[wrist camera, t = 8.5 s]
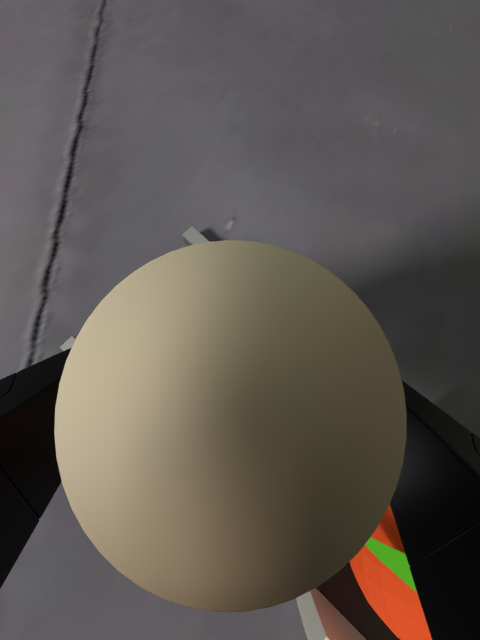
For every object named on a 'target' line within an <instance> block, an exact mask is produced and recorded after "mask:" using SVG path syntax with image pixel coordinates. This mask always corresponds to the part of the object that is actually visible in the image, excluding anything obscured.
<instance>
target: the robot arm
mask: <svg viewBox="0 0 480 640" xmlns="http://www.w3.org/2000/svg"><path fill="white" fill-rule="evenodd" d="M71 349H72V348H69V349H67V350H65V351H63V352H61V353H58V354H56V355H54V356H52V357H50V358H47V359H45V360H43V361H41V362H39V363H36V364H34V365H32V366H30V367H27V368H25V369H23V370H21V371H19V372H17V374H16V373H14V374H12V375H10V376H7V377H5V378H3V379H1V380H0V588H1V587H2V585H3V583H4V581H5V580H6V578H7V576H8V574H9V573H10V571H11V569H12V567H13V566H14V564H15V562H16V560H17V559H18V557H19V555H20V553H21V552H22V550H23V548H24V546H25V545H26V543H27V541H28V539H29V538H30V536H31V534H32V532H33V531H34V529H35V527H36V525H37V524H38V522H39V518H41V516H42V514H43V513H44V511H45V509H46V507H47V506H48V504H49V502H50V500H51V499H52V497H53V495H54V493H55V492H56V490H57V488H58V486H59V485H60V483H61V481H62V480H61V476H60V471H59V467H58V462H57V458H56V447H55V435H54V427H55V406H56V400H57V395H58V389H59V383H60V380H61V376H62V373H63V370H64V366H65V363H66V360H67V358H68V355H69V353H70V351H71ZM402 384H403V388H404V396H405V404H406V413H407V425H406V444H405V452H404V460H403V465H402V468H401V472H400V476H399V480H398V484H397V487H396V489H395V492H394V494H393V497H392V499H391V502H390V506H391V510H392V513H393V516H394V519H395V522H396V526H397V529H398V532H399V535H400V538H401V542H402V545H403V548H404V551H405V554H406V558H407V561H408V564H409V565H410V567H409V568H410V571H411V574H412V577H413V581H414V584H415V587H416V590H417V593H418V597H419V600H420V603H421V606H422V609H423V612H424V616H425V619H426V622H427V625H428V628H429V632H430V635H431V638H432V640H480V438H478V437H477V436H476V435H474V434H473V433H470V431H469V430H468V429H466V428H465V427H464V426H462V425H461V424H460V423H458V422H457V421H456V420H454V419H453V418H452V417H450V416H449V415H448V414H446V413H445V412H444V411H442V410H441V409H440V408H438V407H437V406H436V405H434V404H433V403H432V402H430V401H429V400H428V399H426V398H425V397H424V396H422V395H421V394H419V393H418V392H417V391H415V390H414V389H413V388H411V387H410V386H409V385H407V384H406V383H405V382H403V381H402Z"/></svg>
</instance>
